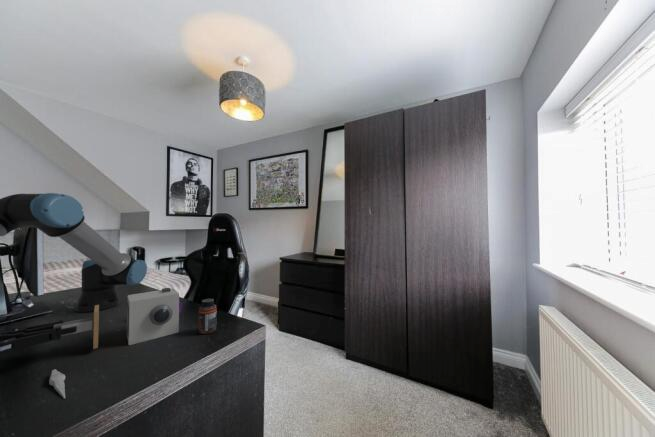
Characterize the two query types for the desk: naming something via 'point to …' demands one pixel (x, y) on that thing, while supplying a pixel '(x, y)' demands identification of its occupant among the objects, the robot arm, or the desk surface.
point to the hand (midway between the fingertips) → (92, 323)
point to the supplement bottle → (207, 317)
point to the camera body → (152, 315)
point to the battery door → (94, 325)
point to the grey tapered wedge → (58, 382)
